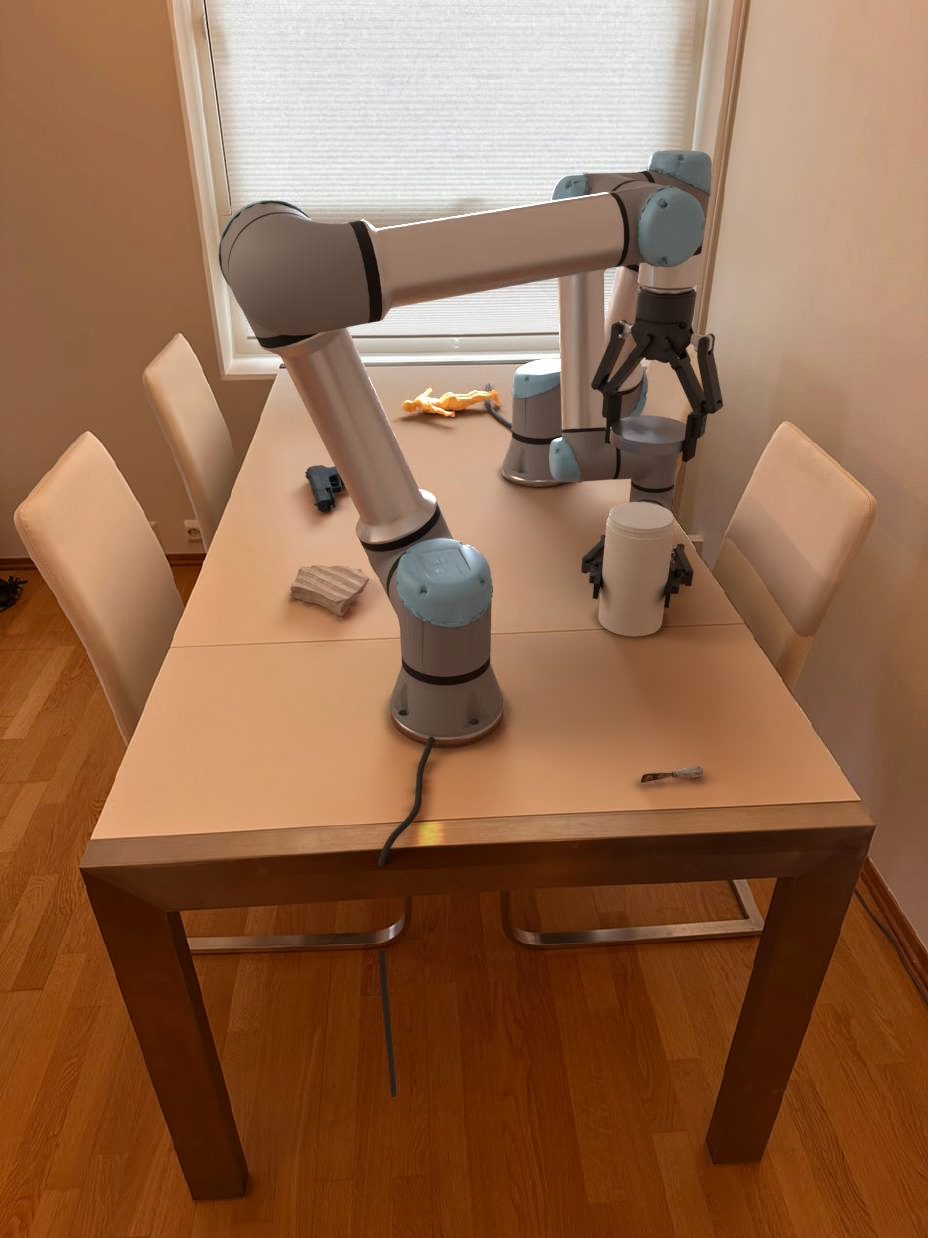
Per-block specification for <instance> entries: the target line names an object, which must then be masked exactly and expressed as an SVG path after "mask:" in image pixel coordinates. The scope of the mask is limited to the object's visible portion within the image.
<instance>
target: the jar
mask: <svg viewBox="0 0 928 1238" xmlns="http://www.w3.org/2000/svg"><path fill="white" fill-rule="evenodd" d="M675 520H676V519H675V516H674V514H673V513H672V511H671V512H670V511H669V510H668V509H666V508H664V507H662V506H660V505H656V504H652V503H647V502H629V501H628V502H623V503H620V504H616V505H615V506H613V507H612V508H610V510H609V514H608V518H607V520H606V523H605V524H606V525H605V526H606V527H605V534H604V535H605V546H604V557H603V569H602V580H601V588H600V592H599V604H598V615H597V617H598V618H597V619H598V622H599V623H600V625H601V626H602V627H603V628H604V629H605V630H607V631H609V632H611V633H612V634H613V633H614V634H617V635H619V636H624V637H634V638H635V637H645V636H646V637H647V636H649V635H652V634H654V633H656V632H657V631H659V630H660V628H662V625H663V619H664V618H663V617H664V612H665V608H664V603H665V596H666V588H667V582H668V574H669V567H670V560H672V557H671V552H672V547H673V543H674V536H675V530H676V528H675Z"/></svg>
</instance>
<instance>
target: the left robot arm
mask: <svg viewBox="0 0 928 1238" xmlns="http://www.w3.org/2000/svg"><path fill="white" fill-rule="evenodd" d="M712 167H713V160H712V157H711V156H710V155H709V154H708V153H706V152H705V151H698V150H684V149H682V150H680V149H679V150H678V149H677V150H676V149H675V150H674V149H671V150H670V149H669V150H659V151H655V152H653V153H652V154H651V155H650V156H649V160H648V165H647V166H646V170H642V171H637V172H635V171H634V172H633V171H632V172H597V173H596V172H594V173H588V172H586V171H584V172H582V173H579V174H578V173H577V174H567V175H564V176H562V177H561V178H559V179H558V181H557V182H556V184H555V185H554V188H553V191H552V194H551V199H550V201H544V202H537V203H532V204H525V205H519V206H512V207H506V208H500V209H494V210H488V211H481V212H475V213H468V214H464V215H455V216H449V217H444V218H438V219H431V220H425V221H424V220H423V221H418V222H413V223H406V224H399V225H394V226H393V225H392V226H387V227H381V228H376V227H374V226H373V225H372V224H371V223H370V222H368V221H366V220H365V219H358V220H354V221H345V222H323V221H314V220H312V219H311V217H310V216H309V215H308V214H307V213H306V212H305V211H304V210H303V209H301V208H299V207H297V206H296V205H294V204H292V203H289V202H287V201H283V200H275V199H274V200H273V199H270V200H269V199H264V200H258V201H254V202H251V203H249V204H246V205H245V206H243V207H241V208H240V209H238V210H237V211H236V212H235V213H234V214H233V215H232V216H231V217H230V218H229V219H228V221H227V222H226V224H225V226H224V228H223V230H222V233H221V236H220V239H219V243H218V254H217V257H218V265H219V269H220V272H221V274H222V277H223V279H224V281H225V282H226V284H227V285H228V287H229V288H230V289H231V292H232V294H233V297H234V298H235V301H236V303H237V304H238V306H239V307H240V309H241V311H242V313H243V314H244V316H245V318H246V320H247V322H248V324H249V326H250V328H251V330H252V332H253V334H254V336H255V338H256V341H257V342H258V344H259V346H260V347H261V349H262V350H264V351H267V352H269V353H272V354H275V355H278V356H279V357H280V359H281V360H282V362H283V364H284V366H285V369H286V370H287V373H288V374H289V376H290V379H291V381H292V382H293V385H294V386H295V388H296V391H297V393H298V395H299V397H300V399H301V400H302V403H303V405H304V407H305V408H306V411H307V413H308V415H309V417H310V418H311V421H312V423H313V425H314V427H315V429H316V431H317V433H318V435H319V437H320V440H321V441H322V443H323V445H324V447H325V449H326V450H327V451H326V452H327V453H328V455H329V458H330V459H331V461H332V463H333V466H335V467H336V469H337V471H338V473H339V475H340V477H341V479H342V481H343V483H344V485H345V486H344V487H345V489H346V491H347V493H348V495H349V497H350V499H351V501H352V503H353V505H354V507H355V509H356V511H357V513H358V515H359V518H358V520H357V523H356V524H355V525H356V526H355V534H356V536H357V538H358V540H359V542H360V544H361V546H362V549H363V551H364V552H365V554H366V556H367V560H368V563H369V565H370V567H371V569H372V571H373V572H374V574H375V575H376V576H377V578H378V580H379V582H380V584H381V586H382V588H383V590H384V592H385V594H386V596H387V598H388V601H389V602H390V604H391V606H392V608H393V610H394V612H395V614H396V617H397V619H398V620H397V621H398V624H399V633H400V634H399V635H400V655H401V667H400V669H399V672H398V675H397V678H396V681H395V684H394V687H393V690H392V693H391V696H390V703H389V706H390V718H391V721H392V724H393V725H394V727H395V728H396V729H397V731H398V732H399V733H400V734H402V735H403V736H404V737H406V738H407V739H409V740H411V741H413V742H415V743H417V744H420V745H421V744H422V745H425V747H424V749H423V753H422V755H421V758H420V760H419V763H418V765H417V769H416V776H415V792H414V804H413V806H412V809H411V811H410V812H409V814H408V816H407V817H406V818H405V819H404V820H403V821H402V822H401V823H400V824H399V825H398V826H397V827H396V828H395V829H394V830H393V831H392V832H391V833H390V835H389V836H388V838H387V839H386V841H385V842H384V845H383V847H382V849H381V852H380V854H379V858H378V861H377V865H378V866H379V867H384V866H385V865H386V862H387V859H388V855H389V853H390V851H391V848H392V847H393V845H394V844H395V841H396V840H397V839H398V837H399V836H400V835H401V834H402V833H403V832H404V831H405V830H406V829H407V828H408V827H409V826H411V824H412V823H414V821H415V819H416V818H417V816H418V814H419V812H420V809H421V806H422V798H423V786H424V785H423V784H424V783H423V782H424V772H425V768H426V764H427V762H428V760H429V757H430V755H431V751H432V750H433V747H437V748H454V747H455V748H457V747H463V746H467V745H471V744H473V743H476V742H480V741H481V740H483V739H485V738H486V737H488V736H489V735H491V734H492V733H493V732H494V731H495V730H496V729H498V727H499V726H500V724H501V722H502V720H503V717H504V696H503V693H502V690H501V687H500V685H499V682H498V679H497V677H496V674H495V672H494V668H493V666H492V664H491V654H492V653H491V651H492V649H491V648H492V608H493V607H492V603H493V602H492V601H493V594H494V585H493V578H492V571H491V567H490V565H489V562H488V560H487V558H486V557H485V556H484V554H482V552H481V551H479V550H478V549H477V548H476V547H474V546H473V545H470V544H463V542H462V541H460V540H457V539H454V537H453V534H452V533H451V531H450V528H449V527H448V524H447V521H446V520H445V517H444V515H443V512H442V510H441V508H440V506H439V504H438V501H437V499H436V497H435V496H434V494H433V493H431V492H430V491H427V490H424V489H420V488H419V486H418V484H417V482H416V480H415V477H414V475H413V473H412V470H411V467H410V466H409V464H408V463H409V462H408V460H407V459H406V457H405V455H404V452H403V450H402V448H401V446H400V442H399V441H398V438H397V436H396V434H395V431H394V429H393V427H392V425H391V422H390V421H389V418H388V416H387V413H386V411H385V409H384V406H383V404H382V402H381V400H380V397H379V396H378V393H377V391H376V388H375V386H374V385H373V382H372V380H371V377H370V375H369V373H368V370H367V368H366V366H365V364H364V361H363V359H362V357H361V354H360V352H359V350H358V348H357V346H356V343H355V341H354V338H353V337H352V334H351V332H350V330H349V328H350V327H355V326H361V325H366V324H367V325H368V324H372V323H377V322H378V323H379V322H382V321H384V320H385V318H386V316H387V315H388V313H389V312H390V310H392V309H394V308H395V309H396V308H401V307H406V306H412V305H417V304H424V303H427V302H428V303H429V302H434V301H438V300H444V299H450V298H455V297H461V296H467V295H472V294H477V293H481V292H482V293H483V292H487V291H488V292H489V291H494V290H500V289H504V288H505V289H506V288H511V287H514V286H521V285H526V284H533V283H538V282H542V281H547V280H553V279H554V280H555V279H558V278H559V277H565V276H570V275H576V274H581V273H587V272H592V271H598V270H603V269H606V270H608V269H613V268H617V267H622V266H628V265H633V264H639V263H640V266H639V275H638V283H639V284H640V285H642V286H641V287H640V288H639V289H638V290H637V297H636V307H635V321H634V323H633V324H631V323H627V321H626V320H621V321H619V322H616V323H614V324H613V325H612V327H611V338H610V342H609V344H608V346H607V349H606V351H605V353H604V356H603V358H602V360H601V363H600V365H599V367H598V370H597V372H596V374H595V377H594V379H593V381H592V384H591V387H592V389H594V390H598V391H600V392H601V393H602V394H603V406H602V416H603V418H607V422H606V434H605V443H608V444H610V443H611V442H610V429H611V425H612V423H613V422H615V421H617V420H619V419H620V415H621V404H622V394H618V393H617V394H616V392H617V391H619V390H618V389H619V388H620V387H621V386H622V384H623V383H624V382H625V381H626V379H627V378H628V377H629V376H630V374H631V373H632V372H633V371H634V369H635V368H636V367H637V366H638V364H639V363H641V362H642V361H643V359H644V360H646V361H657V362H659V363H661V364H668V363H669V365H670V368H671V369H672V370H673V371H674V372H675V374H676V376H677V379H678V381H679V383H680V385H681V388H682V390H683V391H684V394H685V396H686V398H687V401H688V403H689V405H690V407H691V410H692V411H691V412H690V413H689V414H687V416H686V423H685V424H686V431H685V439H684V446H683V452H682V454H681V462H684V463H688V462H689V461H690V460H692V459H693V458H695V457H696V453H697V452H696V451H697V444H698V440H699V439H700V438H702V437H703V436H704V435H705V433H706V426H707V420H708V415H709V414H710V415H714V414H716V413H717V412H718V411H720V410H722V409H723V407H724V401H723V395H722V390H721V385H720V380H719V374H718V370H717V369H718V368H717V364H716V359H715V353H714V349H715V341H716V336H715V335H714V333H707V334H699V333H695V332H694V329H693V321H694V317H695V309H696V300H697V295H698V294H697V291H696V289H695V287H696V286H697V285H698V284H699V278H700V269H701V261H702V260H701V259H702V254H703V253H702V252H703V244H704V239H705V230H706V222H707V218H708V217H707V216H708V209H709V202H710V197H711V195H712V194H711V193H712V192H711V189H712V188H711V186H712V178H713V177H712V176H713V172H712V171H713V169H712ZM630 333H631V334H632V336H633V338H634V340H635V342H636V344H637V345H636V347H635V348H634V349H633V350H632V352H631V353H630V354H629V356H628V358H627V360H626V361H625V362H624V363H623V365H622V366H621V367H620V368H619V370H618V371H617V372H616V374H615V375H614V376H613V377H612V379H611V380H610V381H609V382H608V379H609V377H610V375H611V373H612V370H613V368H614V366H615V364H616V361H617V359H618V357H619V355H620V352H621V350H622V348H623V346H624V343H625V341H626V338H628V337H629V336H630ZM691 344H692V345H693V350H694V352H696V359H697V365H698V369H699V371H698V372H699V375H700V380H701V383H700V381H699V379H698V377H697V374H696V372H695V370H694V368H693V365H692V363H691V361H692V360H691V357H690V354H689V352H688V350H687V348H688V347H689V346H690V345H691ZM378 966H379V979H380V980H379V982H380V993H381V1004H382V1014H383V1015H382V1016H383V1025H384V1033H385V1034H384V1035H385V1036H384V1037H385V1045H386V1055H387V1067H388V1079H389V1090H390V1092H389V1094H390V1096H391V1097H392V1098H395V1097H396V1096H397V1094H398V1093H397V1080H396V1069H395V1056H394V1055H395V1054H394V1047H393V1046H394V1045H393V1044H394V1043H393V1036H392V1035H393V1034H392V1023H391V1014H390V1001H389V989H388V977H387V975H388V974H387V956H386V951H385V950H381V949H378Z"/></svg>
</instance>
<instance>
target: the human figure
mask: <svg viewBox="0 0 928 1238" xmlns="http://www.w3.org/2000/svg"><path fill="white" fill-rule="evenodd" d="M424 391H425V392H423V393H422V394H420V395H418V396H416V398H415V399H414V400H404V401H403V402H402V411H404V412H405V413H410V414H412V413H414V412H417V408H418V409H420V410H421V411H423V412H424V413H427V414H439V415H443V416H444V417H449V416H450V417H451V418H452V417H453V418H454V417H455V416H456V414H455V411H462V410H464V409H467V408H469V407H471V406H473V405H476V404H478V403H481V402H484V401H485V400H488V399H489V400H493V402H494V403H495V404H496V405H497V406H500V398H499V393H498V392H497V391H496V390H495V389H493V390H491V391H489V392H486V391H478V390H473V391H470V392H469V393H468V394H460V393H457V394H455V393H453V392H446V393H444V394H443V395H442V396H441V397H440V398H434V397H429V396H430V395H432V394H433V392H434V391H433V389H432V385H429V387H428V389H424ZM450 410H452V411H450Z"/></svg>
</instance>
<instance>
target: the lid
mask: <svg viewBox="0 0 928 1238" xmlns="http://www.w3.org/2000/svg"><path fill="white" fill-rule="evenodd" d="M686 424H687V423H685V422H683V421H680V420H678V419H675V418H671V417H667V416H666V417H665V416H659V415H640V416H631V417H625V418H622V419H619V420H617V421H615V422H613V423H612V425H611V429H610V442H611V443H612V444H613V445H614V446H615V447H617V448H619V449H621V450H623V451H626V452H630V453H634V454H640V455H649V456H665V455H673V454H677V453H679V454H680V453H683V446H684V439H685V431H686Z"/></svg>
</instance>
